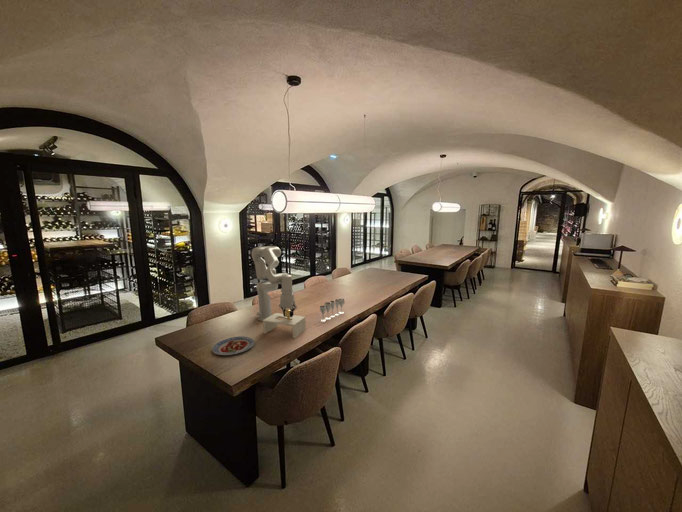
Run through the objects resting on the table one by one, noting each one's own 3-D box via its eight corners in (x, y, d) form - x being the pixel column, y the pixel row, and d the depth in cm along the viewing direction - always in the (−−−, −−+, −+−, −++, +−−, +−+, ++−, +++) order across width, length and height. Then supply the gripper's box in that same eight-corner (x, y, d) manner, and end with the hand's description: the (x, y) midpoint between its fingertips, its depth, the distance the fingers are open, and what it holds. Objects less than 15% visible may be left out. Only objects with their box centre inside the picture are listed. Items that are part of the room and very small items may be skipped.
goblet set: (323, 322, 226) (323, 306, 224) (318, 320, 230) (318, 304, 228) (346, 312, 247) (345, 297, 245) (341, 311, 251) (340, 296, 249)
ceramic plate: (225, 338, 200) (224, 334, 199) (260, 339, 197) (260, 335, 197) (204, 357, 175) (203, 352, 174) (244, 358, 172) (243, 354, 171)
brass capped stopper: (284, 325, 206) (283, 311, 205) (287, 322, 211) (287, 309, 209) (290, 325, 204) (289, 311, 203) (293, 323, 209) (292, 309, 207)
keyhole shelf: (263, 333, 207) (262, 320, 206) (276, 325, 222) (275, 313, 220) (294, 338, 198) (294, 324, 196) (305, 329, 212) (305, 316, 211)
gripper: (274, 292, 204) (275, 316, 206) (294, 294, 197) (296, 319, 200) (280, 289, 210) (281, 313, 213) (300, 291, 204) (301, 315, 207)
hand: (288, 316), depth 207 cm, fingers closed on brass capped stopper, 5 cm apart
